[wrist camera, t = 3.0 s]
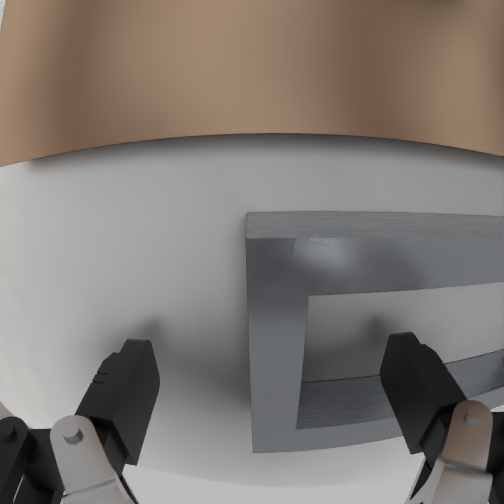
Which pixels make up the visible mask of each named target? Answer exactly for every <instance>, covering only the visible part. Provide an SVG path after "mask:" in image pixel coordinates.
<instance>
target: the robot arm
mask: <svg viewBox="0 0 504 504" xmlns="http://www.w3.org/2000/svg"><path fill="white" fill-rule="evenodd" d="M380 380H381V384H382V387H383V389H384V391H385V393H386V396H387V398H388V400H389V403H390V405H391V407H392V410H393V412H394V414H395V417H396V419H397V421H398V424H399V426H400V429H401V431H402V434H403V436H404V438H405V441H406V443H407V446H408V448H409V451H410V454H411V455H412V454H416V453H420V452H423V453H424V455H425V458H424V459H423V461H422V463H421V466H420V469H419V471H418V474H417V476H416V479H415V481H414V484H413V486H412V488H411V491H410V493H409V495H408V497H407V499H406V502H405V504H487V503H488V502H489V504H504V412H491V411H490V409H489V408H488V407H487V406H486V405H484V404H483V403H481V402H479V401H475V400H468V399H467V398H466V396H465V395H464V393H463V391H462V390H461V388H460V387H459V385H458V384H457V382H456V381H455V379H454V378H453V376H452V375H451V373H450V372H448V369H447V367H446V366H445V365H444V364H443V363H442V360H441V359H440V357H439V356H438V354H437V353H436V352H435V351H434V350H432V349H431V348H430V347H428V346H427V345H425V344H422V345H421V344H420V342H419V341H418V339H417V338H416V336H415V335H414V334H413V333H412V332H404V333H396V334H391V335H390V336H389V338H388V342H387V346H386V350H385V353H384V357H383V361H382V365H381V368H380ZM92 381H93V382H92V383H91V384H90V386H89V388H88V390H87V392H86V394H85V395H84V397H83V399H82V401H81V403H80V405H79V407H78V409H77V411H76V413H75V414H74V415H71V416H66V417H64V418H62V419H60V420H59V421H57V422H56V423H55V424H54V426H53V427H52V429H29V428H28V427H27V425H26V424H25V422H24V421H23V420H22V419H20V418H18V417H7V418H4V419H2V420H0V504H13V499H14V495H15V493H16V490H17V488H18V485H19V483H20V480H21V478H22V477H23V480H22V483H21V485H20V488H19V491H18V493H17V496H16V498H15V501H14V504H60V502H61V499H62V501H63V504H139V502H138V500H137V499H136V497H135V496H134V494H133V492H132V490H131V488H130V486H129V484H128V483H127V481H126V479H125V477H124V475H123V473H122V471H123V468H124V465H125V464H130V465H136V466H137V462H138V459H139V455H140V452H141V448H142V445H143V441H144V438H145V435H146V431H147V428H148V424H149V421H150V418H151V414H152V411H153V408H154V405H155V401H156V398H157V395H158V392H159V386H160V378H159V372H158V368H157V364H156V360H155V356H154V352H153V348H152V344H151V342H150V341H149V340H137V339H127V340H126V342H125V344H124V345H123V347H122V349H121V351H120V353H115V352H114V353H112V354H111V355H110V356H109V357H108V358H106V359H105V360H104V361H103V362H102V364H101V366H100V368H99V369H98V371H97V374H96V375H95V377H94V379H93V380H92ZM64 491H66V495H63V492H64Z"/></svg>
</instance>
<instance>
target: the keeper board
mask: <svg viewBox="0 0 504 504" xmlns="http://www.w3.org/2000/svg"><path fill="white" fill-rule="evenodd" d="M248 133H305V134H333V135H350V136H365V137H377V138H388V139H397V140H406V141H415V142H423V143H430V144H437V145H444V146H450V147H456V148H462V149H468V150H473V151H478V152H483V153H488V154H493V155H498V156H502V157H504V0H6V2H5V7H4V12H3V18H2V24H1V30H0V167H3V166H6V165H10V164H15V163H19V162H23V161H27V160H32V159H36V158H41V157H45V156H50V155H55V154H60V153H65V152H71V151H76V150H82V149H88V148H94V147H100V146H107V145H114V144H121V143H128V142H136V141H145V140H154V139H164V138H175V137H187V136H202V135H220V134H248Z"/></svg>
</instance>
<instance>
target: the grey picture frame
mask: <svg viewBox="0 0 504 504" xmlns="http://www.w3.org/2000/svg"><path fill="white" fill-rule="evenodd" d="M246 269H247V301H248V331H249V360H250V388H251V416H252V442H253V453H270V452H291V451H305V450H316V449H326V448H335V447H342V446H350V445H356V444H363V443H369V442H374V441H380V440H385V439H390V438H395V437H399V436H403V434H402V431H401V429H400V426H399V424H398V421H397V419H396V417H395V414H394V412H393V410H392V407H391V405H390V403H389V400H388V398H387V396H386V393H385V391H384V389H383V387H382V384H381V380H380V375H378V376H370V377H362V378H353V379H343V380H333V381H321V382H307V383H301V378H302V368H303V358H304V347H305V335H306V323H307V309H308V295H332V294H353V293H372V292H388V291H403V290H417V289H430V288H443V287H454V286H465V285H475V284H485V283H495V282H504V217H496V216H478V215H458V214H433V213H400V212H247V225H246ZM444 365H445V366H446V367H447V369H448V372H450V373H451V375H452V376H453V378H454V379H455V381H456V382H457V384H458V385H459V387H460V388H461V390H462V391H463V393H464V395H465V396H466V398H467V399H468V400H475V401H479V402H481V403H483V404H484V405H486V406H487V407H488V408H489V409H493V408H495V407H498V406H500V405H503V404H504V350H500V351H497V352H493V353H489V354H485V355H482V356H478V357H474V358H469V359H465V360H461V361H456V362H452V363H447V364H444Z"/></svg>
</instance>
